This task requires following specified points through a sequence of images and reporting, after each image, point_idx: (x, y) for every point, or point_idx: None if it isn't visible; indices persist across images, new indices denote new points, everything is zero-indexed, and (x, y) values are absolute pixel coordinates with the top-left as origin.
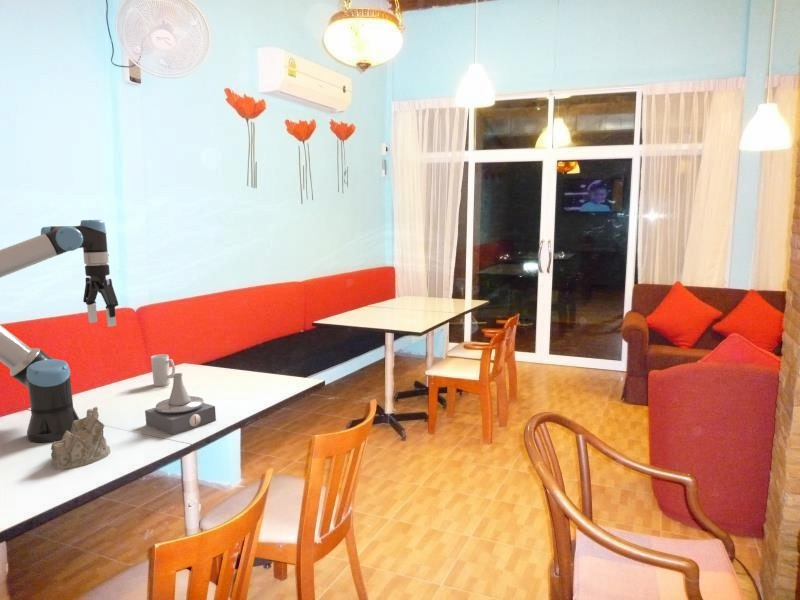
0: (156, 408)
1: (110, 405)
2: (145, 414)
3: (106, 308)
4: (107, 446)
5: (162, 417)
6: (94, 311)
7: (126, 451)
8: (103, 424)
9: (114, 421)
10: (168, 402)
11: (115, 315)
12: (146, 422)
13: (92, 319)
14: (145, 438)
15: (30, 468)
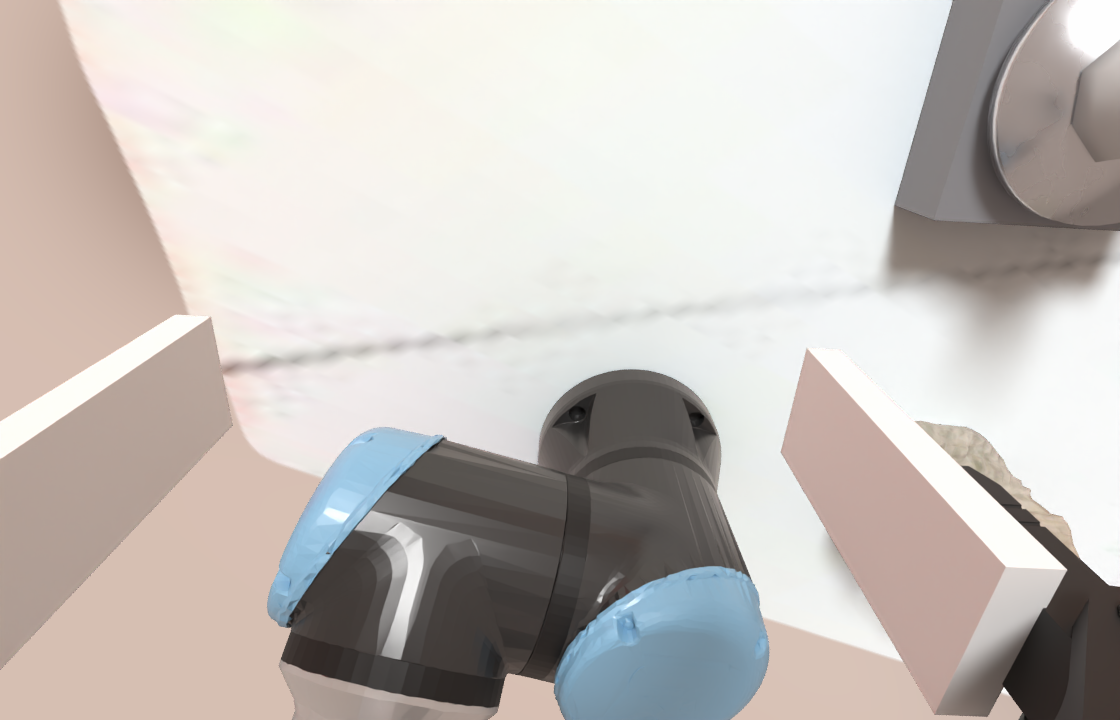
0: (1045, 217)
1: (461, 128)
2: (922, 215)
3: (952, 706)
4: (982, 448)
5: (1090, 228)
6: (88, 446)
7: (1035, 405)
8: (1066, 524)
9: (711, 256)
10: (1109, 158)
11: (934, 441)
12: (903, 207)
13: (198, 412)
14: (1015, 302)
15: (840, 594)
